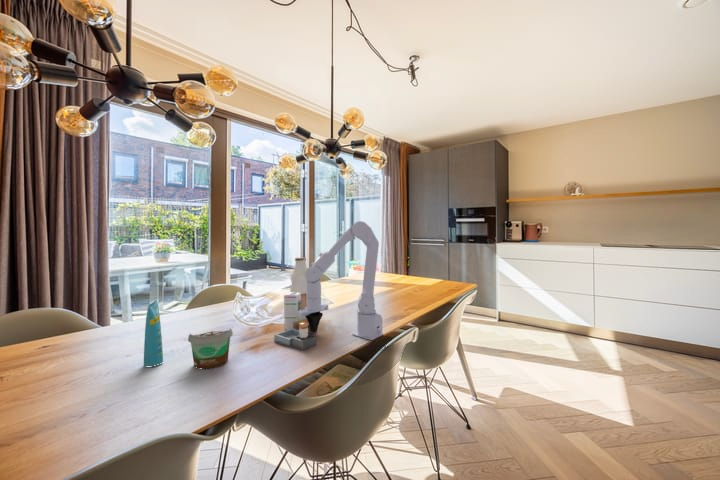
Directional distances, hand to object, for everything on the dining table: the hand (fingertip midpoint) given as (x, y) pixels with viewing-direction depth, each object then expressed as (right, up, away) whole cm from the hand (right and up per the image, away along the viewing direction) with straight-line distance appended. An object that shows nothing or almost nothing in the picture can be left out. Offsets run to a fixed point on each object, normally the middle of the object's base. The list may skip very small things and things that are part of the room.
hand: (313, 331), depth 117 cm
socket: (-2, -1, -12) cm, 12 cm away
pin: (-2, -1, -12) cm, 12 cm away
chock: (-4, -1, +3) cm, 5 cm away
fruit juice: (-10, -1, +22) cm, 24 cm away
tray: (-7, -1, -7) cm, 10 cm away
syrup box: (-10, -1, +8) cm, 13 cm away
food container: (-26, -2, -28) cm, 38 cm away
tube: (-44, -2, -26) cm, 52 cm away
